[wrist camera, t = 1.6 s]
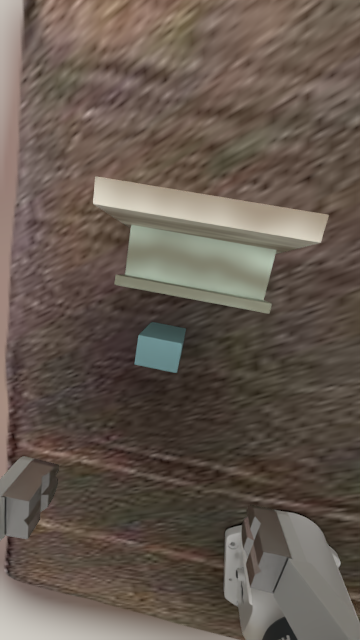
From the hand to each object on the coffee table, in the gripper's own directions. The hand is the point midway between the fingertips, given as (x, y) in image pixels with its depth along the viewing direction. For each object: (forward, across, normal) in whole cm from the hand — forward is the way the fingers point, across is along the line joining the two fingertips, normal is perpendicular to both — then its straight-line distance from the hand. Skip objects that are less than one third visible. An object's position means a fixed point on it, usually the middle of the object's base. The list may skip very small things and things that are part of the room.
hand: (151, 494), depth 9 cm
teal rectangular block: (+23, +2, +1) cm, 23 cm away
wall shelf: (+23, 0, -11) cm, 26 cm away
